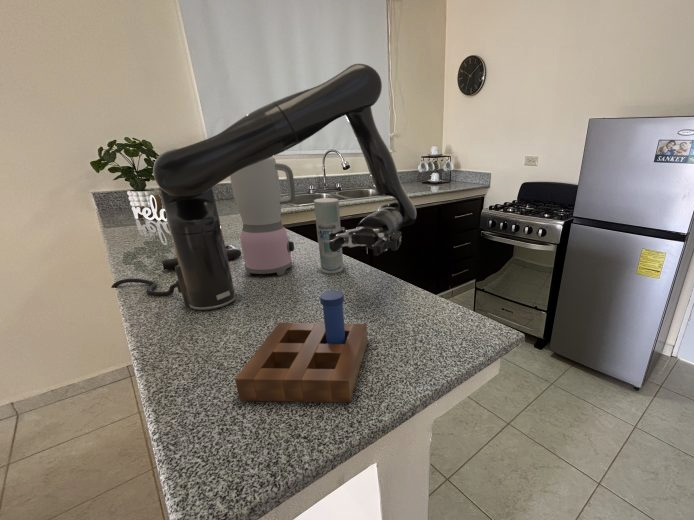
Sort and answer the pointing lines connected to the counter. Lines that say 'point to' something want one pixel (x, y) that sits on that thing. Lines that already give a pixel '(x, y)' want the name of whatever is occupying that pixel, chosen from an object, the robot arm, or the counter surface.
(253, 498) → the counter surface
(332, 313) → the blue peg
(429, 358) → the counter surface
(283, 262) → the blender
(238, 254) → the door handle
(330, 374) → the holder
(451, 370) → the counter surface
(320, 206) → the spray can
